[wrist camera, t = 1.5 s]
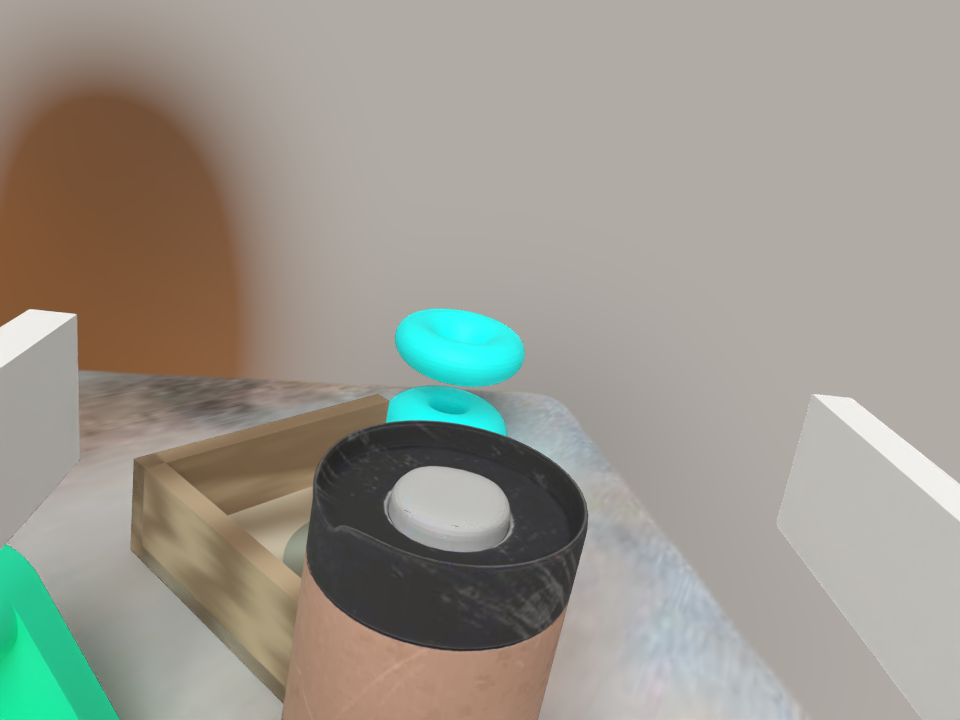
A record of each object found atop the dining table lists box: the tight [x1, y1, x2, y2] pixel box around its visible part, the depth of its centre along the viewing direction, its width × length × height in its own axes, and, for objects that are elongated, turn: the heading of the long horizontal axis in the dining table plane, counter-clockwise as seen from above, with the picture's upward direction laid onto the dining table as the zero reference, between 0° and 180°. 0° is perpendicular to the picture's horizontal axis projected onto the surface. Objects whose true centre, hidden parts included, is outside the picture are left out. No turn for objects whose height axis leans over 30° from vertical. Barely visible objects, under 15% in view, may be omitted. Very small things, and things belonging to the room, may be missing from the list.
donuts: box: [386, 309, 525, 437], centre depth 66 cm, size 10×10×10 cm
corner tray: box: [131, 394, 389, 704], centre depth 49 cm, size 18×18×6 cm
